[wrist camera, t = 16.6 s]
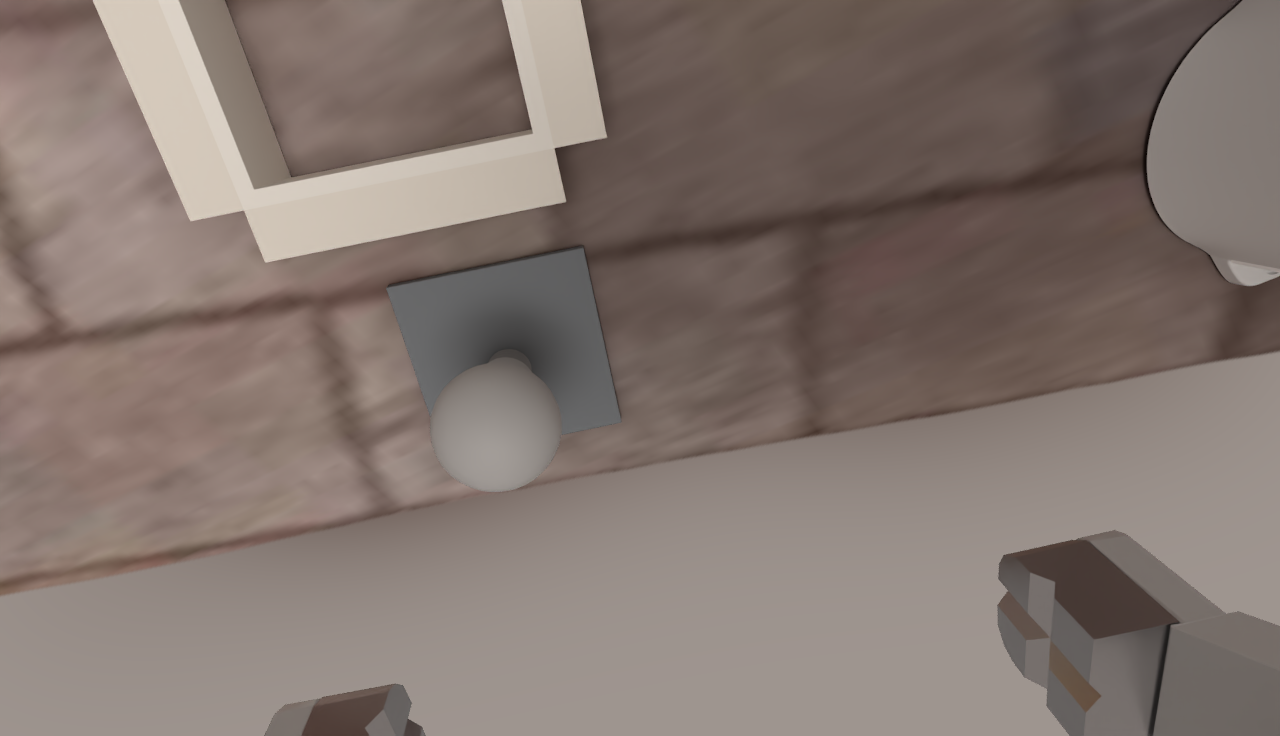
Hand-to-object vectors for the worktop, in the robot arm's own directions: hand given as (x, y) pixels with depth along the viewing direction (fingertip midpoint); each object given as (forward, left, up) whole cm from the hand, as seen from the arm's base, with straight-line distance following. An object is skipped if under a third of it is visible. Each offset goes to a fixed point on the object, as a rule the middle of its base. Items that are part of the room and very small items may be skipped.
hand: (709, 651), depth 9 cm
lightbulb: (+7, +7, -31) cm, 32 cm away
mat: (+7, +6, -31) cm, 33 cm away
